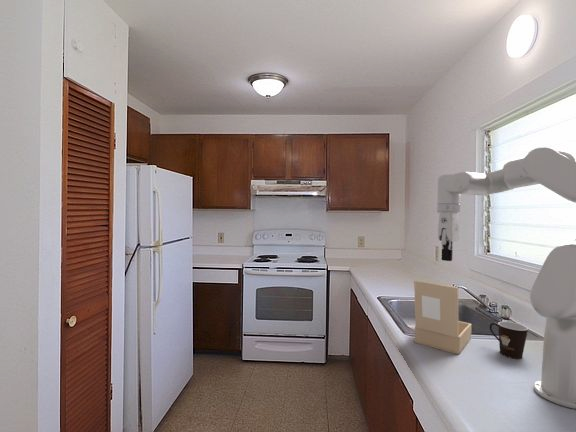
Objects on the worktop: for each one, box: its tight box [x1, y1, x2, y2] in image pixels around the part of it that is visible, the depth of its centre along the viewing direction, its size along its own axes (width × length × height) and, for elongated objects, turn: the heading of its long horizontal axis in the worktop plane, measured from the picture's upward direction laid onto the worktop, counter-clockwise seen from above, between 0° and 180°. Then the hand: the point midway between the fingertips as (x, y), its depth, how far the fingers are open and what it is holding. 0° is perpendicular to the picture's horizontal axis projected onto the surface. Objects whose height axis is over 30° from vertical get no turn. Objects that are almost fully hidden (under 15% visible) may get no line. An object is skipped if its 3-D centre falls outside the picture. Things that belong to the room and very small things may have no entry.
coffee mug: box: [489, 321, 529, 360], centre depth 120 cm, size 12×9×10 cm
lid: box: [413, 279, 459, 338], centre depth 119 cm, size 14×18×1 cm
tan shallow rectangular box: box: [413, 320, 472, 355], centre depth 129 cm, size 15×18×6 cm
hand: (446, 260), depth 125 cm, fingers closed
